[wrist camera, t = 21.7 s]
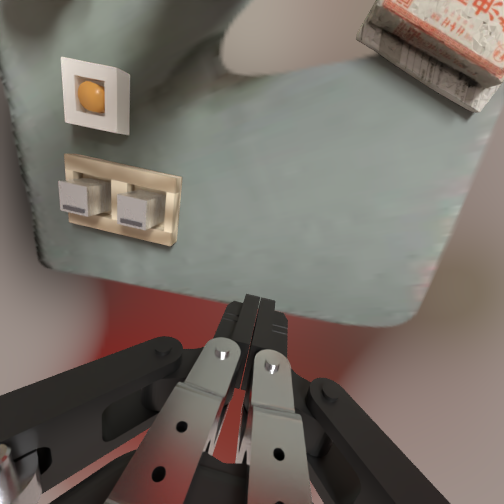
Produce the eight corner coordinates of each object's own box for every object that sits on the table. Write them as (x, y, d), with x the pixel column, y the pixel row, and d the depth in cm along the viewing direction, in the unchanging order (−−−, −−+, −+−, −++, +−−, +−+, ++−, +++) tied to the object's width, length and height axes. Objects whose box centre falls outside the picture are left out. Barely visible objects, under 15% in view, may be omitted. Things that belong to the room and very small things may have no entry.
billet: (140, 189, 42) (116, 194, 36) (166, 195, 41) (145, 201, 35) (139, 215, 43) (116, 224, 37) (164, 221, 43) (144, 230, 37)
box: (78, 64, 37) (60, 56, 34) (130, 74, 36) (116, 67, 34) (80, 124, 40) (65, 122, 37) (129, 135, 39) (117, 133, 36)
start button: (87, 82, 37) (77, 78, 35) (111, 87, 36) (101, 83, 34) (88, 110, 38) (78, 108, 36) (111, 115, 38) (102, 113, 36)
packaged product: (362, 22, 27) (429, -97, 24) (352, 42, 32) (406, -57, 28) (500, 108, 28) (584, 5, 25) (471, 115, 33) (539, 29, 29)
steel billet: (88, 177, 42) (56, 180, 36) (113, 183, 42) (85, 187, 36) (89, 203, 44) (59, 210, 38) (114, 209, 43) (87, 217, 38)
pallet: (76, 153, 41) (64, 153, 39) (182, 177, 40) (175, 178, 38) (80, 218, 45) (69, 222, 43) (176, 241, 44) (170, 246, 42)
